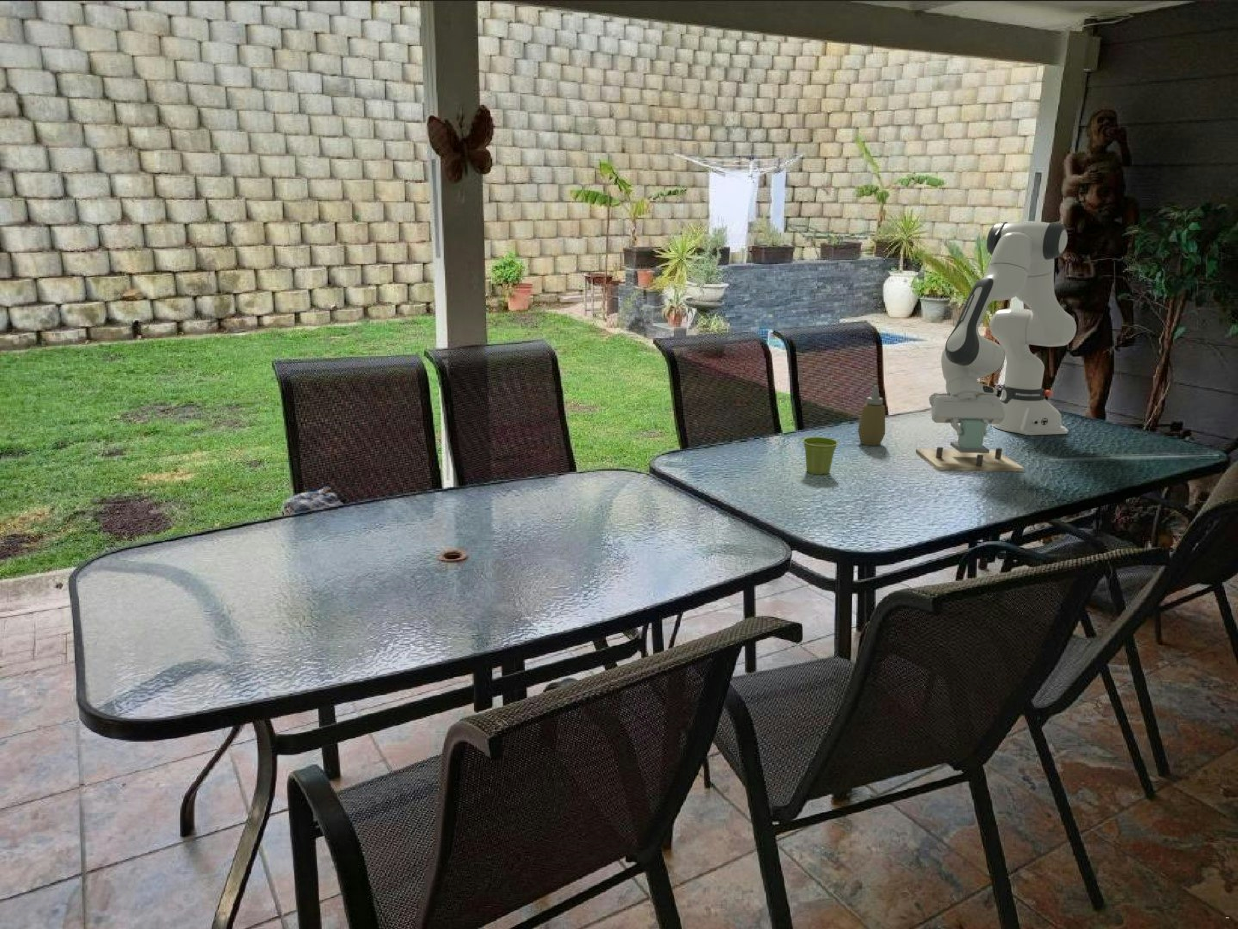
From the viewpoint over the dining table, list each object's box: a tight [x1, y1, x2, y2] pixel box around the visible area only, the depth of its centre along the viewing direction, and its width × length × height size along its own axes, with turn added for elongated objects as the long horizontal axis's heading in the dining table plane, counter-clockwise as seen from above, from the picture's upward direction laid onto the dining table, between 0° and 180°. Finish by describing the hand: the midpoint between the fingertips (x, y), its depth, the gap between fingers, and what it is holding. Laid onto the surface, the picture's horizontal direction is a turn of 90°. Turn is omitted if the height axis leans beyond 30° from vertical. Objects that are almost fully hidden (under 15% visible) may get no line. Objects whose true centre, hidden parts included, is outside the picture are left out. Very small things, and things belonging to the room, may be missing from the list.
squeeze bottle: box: [857, 385, 886, 447], centre depth 262 cm, size 8×8×18 cm
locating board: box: [915, 446, 1025, 472], centre depth 247 cm, size 24×18×4 cm
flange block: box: [949, 420, 990, 453], centre depth 245 cm, size 8×8×8 cm
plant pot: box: [802, 436, 839, 476], centre depth 235 cm, size 9×9×9 cm
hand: (972, 434), depth 245 cm, fingers closed on flange block, 5 cm apart
